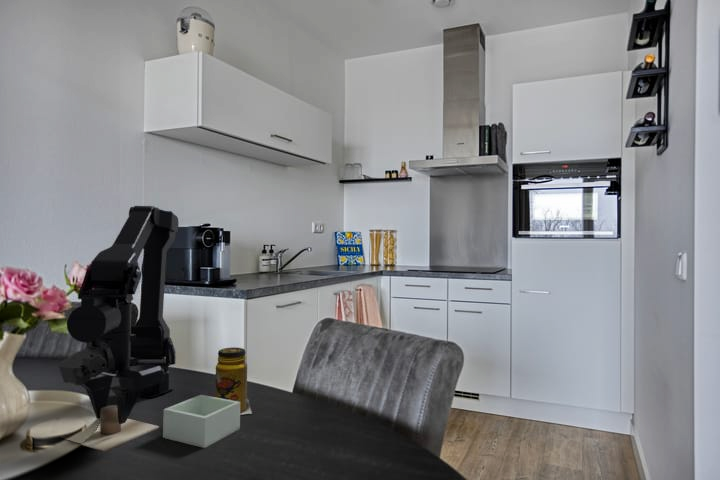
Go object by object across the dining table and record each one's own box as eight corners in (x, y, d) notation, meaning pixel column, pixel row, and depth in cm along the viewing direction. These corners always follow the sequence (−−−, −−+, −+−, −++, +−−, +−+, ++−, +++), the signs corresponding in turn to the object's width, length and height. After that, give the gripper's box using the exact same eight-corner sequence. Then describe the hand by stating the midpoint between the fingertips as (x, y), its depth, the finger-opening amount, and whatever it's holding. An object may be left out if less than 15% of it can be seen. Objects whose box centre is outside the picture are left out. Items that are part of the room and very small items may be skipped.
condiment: (212, 418, 92) (213, 354, 92) (212, 403, 101) (213, 345, 101) (251, 414, 95) (253, 352, 95) (248, 400, 103) (249, 343, 103)
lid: (58, 441, 82) (59, 413, 82) (116, 420, 92) (117, 394, 92) (103, 455, 77) (103, 424, 77) (159, 430, 87) (159, 403, 87)
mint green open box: (163, 438, 83) (163, 409, 83) (200, 421, 91) (201, 394, 91) (204, 449, 79) (205, 418, 79) (239, 430, 87) (240, 402, 87)
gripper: (30, 332, 81) (28, 427, 81) (109, 344, 73) (107, 449, 73) (91, 322, 91) (90, 406, 91) (167, 332, 84) (165, 424, 84)
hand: (110, 420), depth 85 cm, fingers open, 5 cm apart
